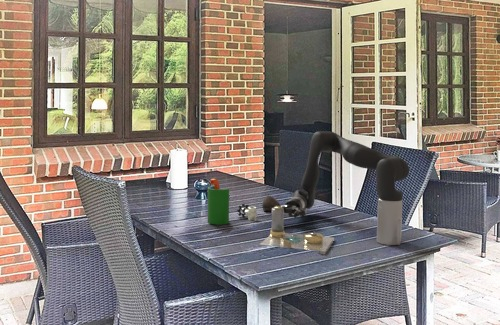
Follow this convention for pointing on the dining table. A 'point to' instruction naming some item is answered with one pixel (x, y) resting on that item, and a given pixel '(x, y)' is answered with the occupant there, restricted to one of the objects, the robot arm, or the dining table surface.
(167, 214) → the dining table surface
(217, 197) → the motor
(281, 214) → the silver and brass cylinder
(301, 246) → the carrier
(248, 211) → the valve
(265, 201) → the stone
